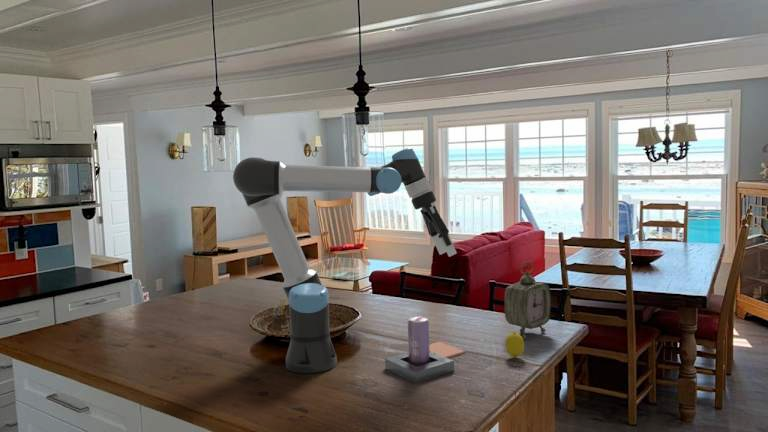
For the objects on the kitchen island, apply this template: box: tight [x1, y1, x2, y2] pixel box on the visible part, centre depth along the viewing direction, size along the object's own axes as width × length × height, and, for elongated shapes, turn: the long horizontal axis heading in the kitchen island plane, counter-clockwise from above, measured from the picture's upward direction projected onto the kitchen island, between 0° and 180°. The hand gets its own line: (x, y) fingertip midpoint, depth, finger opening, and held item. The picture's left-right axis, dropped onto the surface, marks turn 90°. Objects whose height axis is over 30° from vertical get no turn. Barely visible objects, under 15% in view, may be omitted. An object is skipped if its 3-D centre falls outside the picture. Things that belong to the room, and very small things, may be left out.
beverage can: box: [407, 315, 430, 367], centre depth 159 cm, size 6×6×15 cm
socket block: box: [384, 351, 455, 384], centre depth 159 cm, size 14×14×3 cm
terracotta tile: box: [429, 341, 466, 359], centre depth 174 cm, size 12×12×1 cm
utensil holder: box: [271, 299, 290, 331], centre depth 196 cm, size 6×6×12 cm
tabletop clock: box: [504, 261, 552, 340], centre depth 188 cm, size 14×9×25 cm, turn 129°
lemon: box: [504, 331, 525, 359], centre depth 166 cm, size 6×6×8 cm
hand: (448, 254), depth 180 cm, fingers open, 13 cm apart
